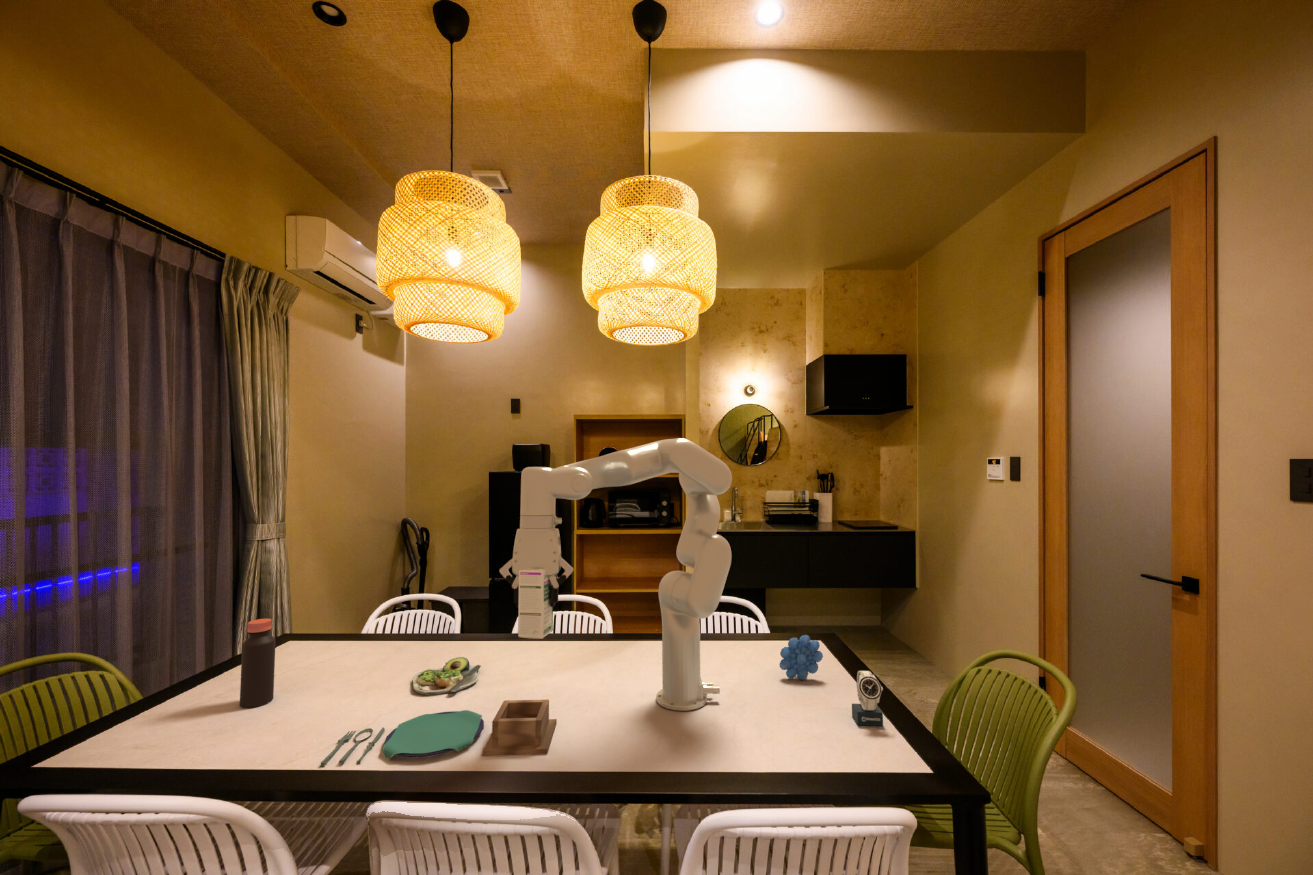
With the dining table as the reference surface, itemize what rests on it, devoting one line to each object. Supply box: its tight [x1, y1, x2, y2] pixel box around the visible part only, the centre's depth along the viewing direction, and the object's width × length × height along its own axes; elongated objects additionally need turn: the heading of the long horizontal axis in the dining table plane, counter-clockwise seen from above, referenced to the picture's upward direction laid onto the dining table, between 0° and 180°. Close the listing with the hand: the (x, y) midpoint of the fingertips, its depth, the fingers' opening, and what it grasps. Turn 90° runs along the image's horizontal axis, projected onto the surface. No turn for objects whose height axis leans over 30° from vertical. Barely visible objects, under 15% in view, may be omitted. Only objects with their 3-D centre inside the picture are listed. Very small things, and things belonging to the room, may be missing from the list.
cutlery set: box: [320, 709, 485, 768], centre depth 114 cm, size 20×30×2 cm, turn 99°
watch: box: [851, 670, 884, 728], centre depth 121 cm, size 6×8×11 cm
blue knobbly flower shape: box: [779, 634, 824, 681], centre depth 146 cm, size 12×7×12 cm, turn 84°
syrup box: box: [517, 568, 554, 639], centre depth 116 cm, size 6×6×14 cm
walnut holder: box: [481, 698, 557, 757], centre depth 114 cm, size 13×13×6 cm
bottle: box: [239, 618, 276, 709], centre depth 133 cm, size 7×7×20 cm
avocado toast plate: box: [412, 656, 482, 696], centre depth 144 cm, size 19×18×5 cm
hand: (535, 605), depth 116 cm, fingers closed on syrup box, 6 cm apart
